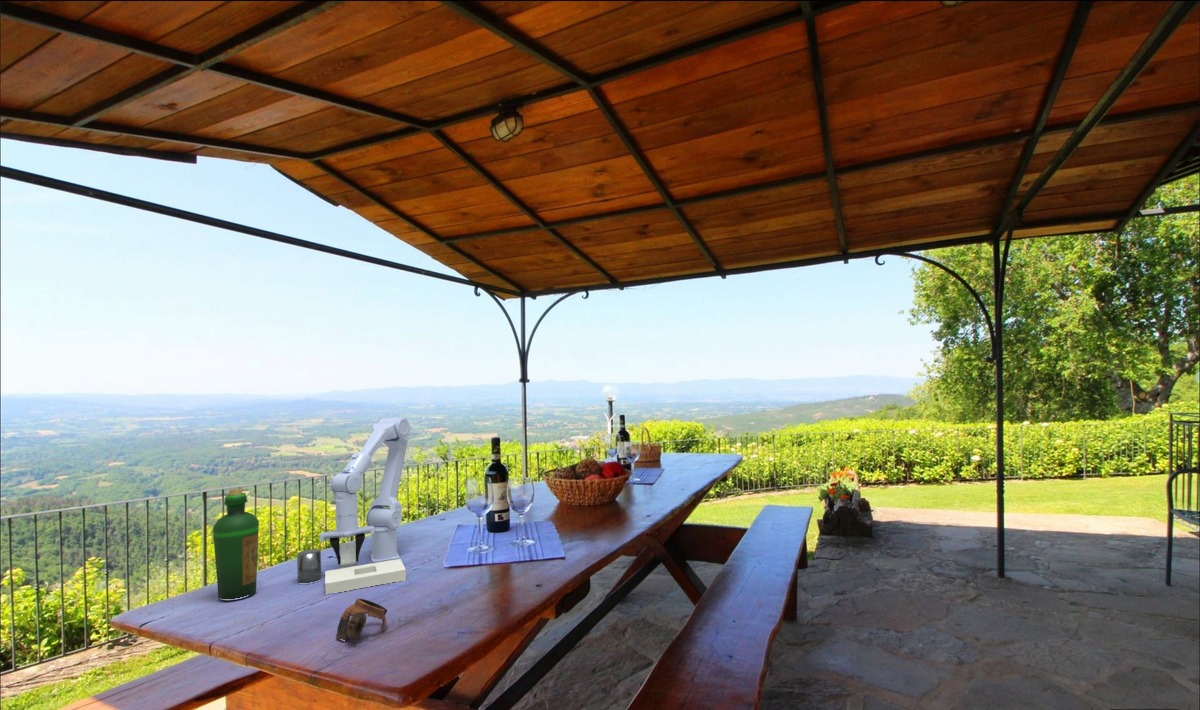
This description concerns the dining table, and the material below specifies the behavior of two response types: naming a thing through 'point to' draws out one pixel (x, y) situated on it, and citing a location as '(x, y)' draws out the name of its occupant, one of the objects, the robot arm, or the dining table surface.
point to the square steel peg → (348, 555)
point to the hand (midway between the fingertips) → (348, 562)
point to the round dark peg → (309, 565)
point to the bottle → (236, 548)
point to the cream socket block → (364, 576)
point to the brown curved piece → (359, 618)
